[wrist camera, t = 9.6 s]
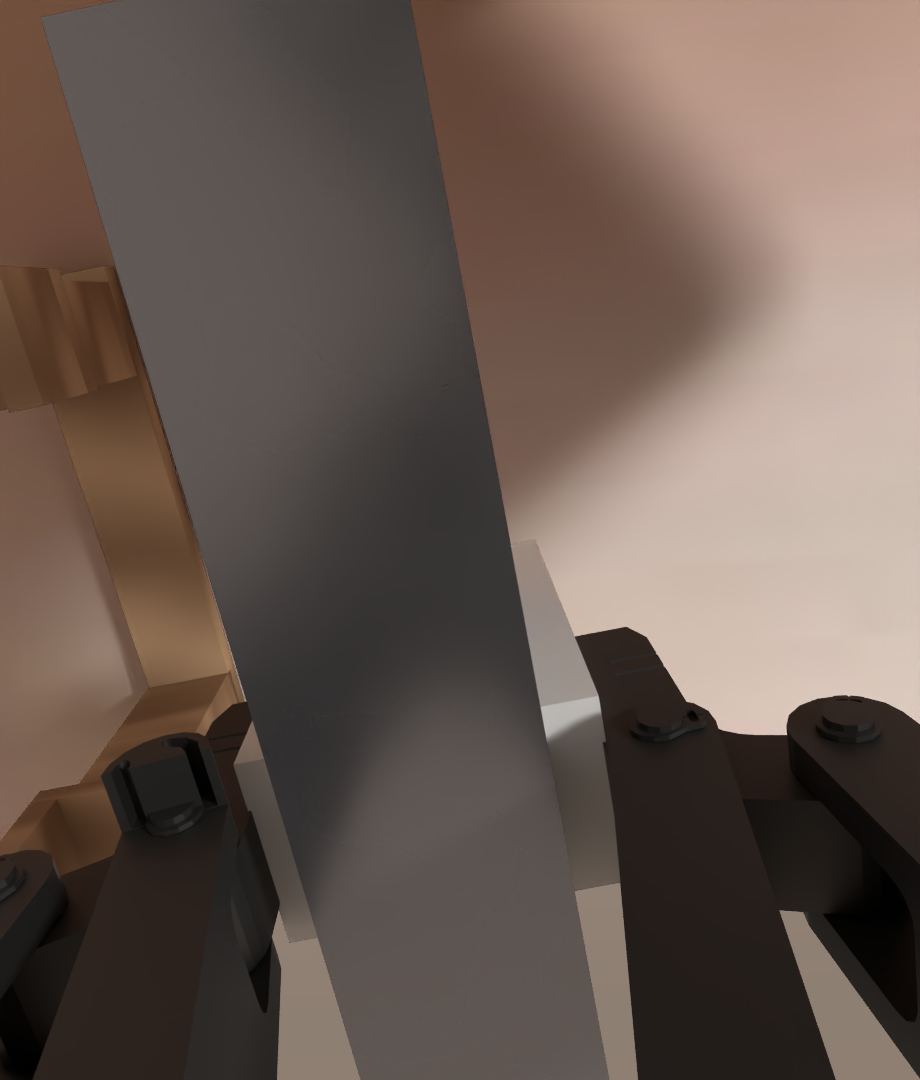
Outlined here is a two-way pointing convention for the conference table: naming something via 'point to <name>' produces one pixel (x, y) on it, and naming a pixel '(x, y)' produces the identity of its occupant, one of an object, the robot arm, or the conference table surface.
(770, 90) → the conference table surface
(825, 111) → the conference table surface
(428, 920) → the rail
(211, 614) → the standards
